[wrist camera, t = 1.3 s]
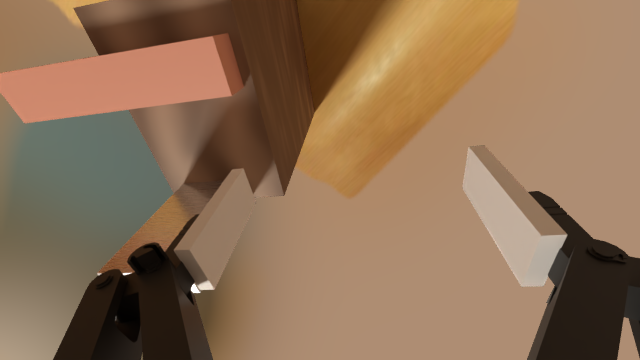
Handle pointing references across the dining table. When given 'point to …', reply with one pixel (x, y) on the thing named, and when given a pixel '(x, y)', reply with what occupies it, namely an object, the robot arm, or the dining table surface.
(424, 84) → the dining table surface
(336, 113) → the dining table surface
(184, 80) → the terracotta clay brick
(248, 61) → the wooden block pedestal
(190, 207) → the bookend
